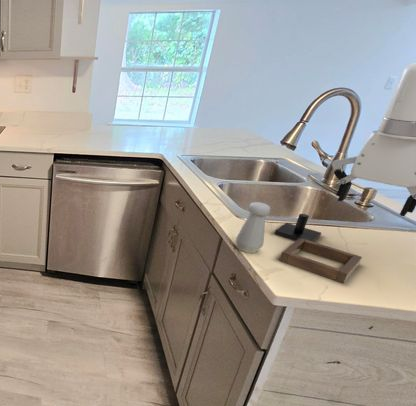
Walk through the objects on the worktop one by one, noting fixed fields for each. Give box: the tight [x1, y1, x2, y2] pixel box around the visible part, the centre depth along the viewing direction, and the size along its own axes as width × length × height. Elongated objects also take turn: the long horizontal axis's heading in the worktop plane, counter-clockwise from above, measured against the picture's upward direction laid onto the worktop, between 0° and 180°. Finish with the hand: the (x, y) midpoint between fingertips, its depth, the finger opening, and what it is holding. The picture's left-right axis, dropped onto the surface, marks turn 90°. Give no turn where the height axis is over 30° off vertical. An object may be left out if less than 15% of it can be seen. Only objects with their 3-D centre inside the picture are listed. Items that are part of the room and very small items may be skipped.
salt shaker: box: [235, 201, 271, 254], centre depth 93 cm, size 6×6×13 cm
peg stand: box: [274, 213, 322, 242], centre depth 101 cm, size 8×8×6 cm
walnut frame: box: [279, 238, 363, 284], centre depth 89 cm, size 12×12×2 cm
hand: (370, 206), depth 79 cm, fingers open, 9 cm apart
